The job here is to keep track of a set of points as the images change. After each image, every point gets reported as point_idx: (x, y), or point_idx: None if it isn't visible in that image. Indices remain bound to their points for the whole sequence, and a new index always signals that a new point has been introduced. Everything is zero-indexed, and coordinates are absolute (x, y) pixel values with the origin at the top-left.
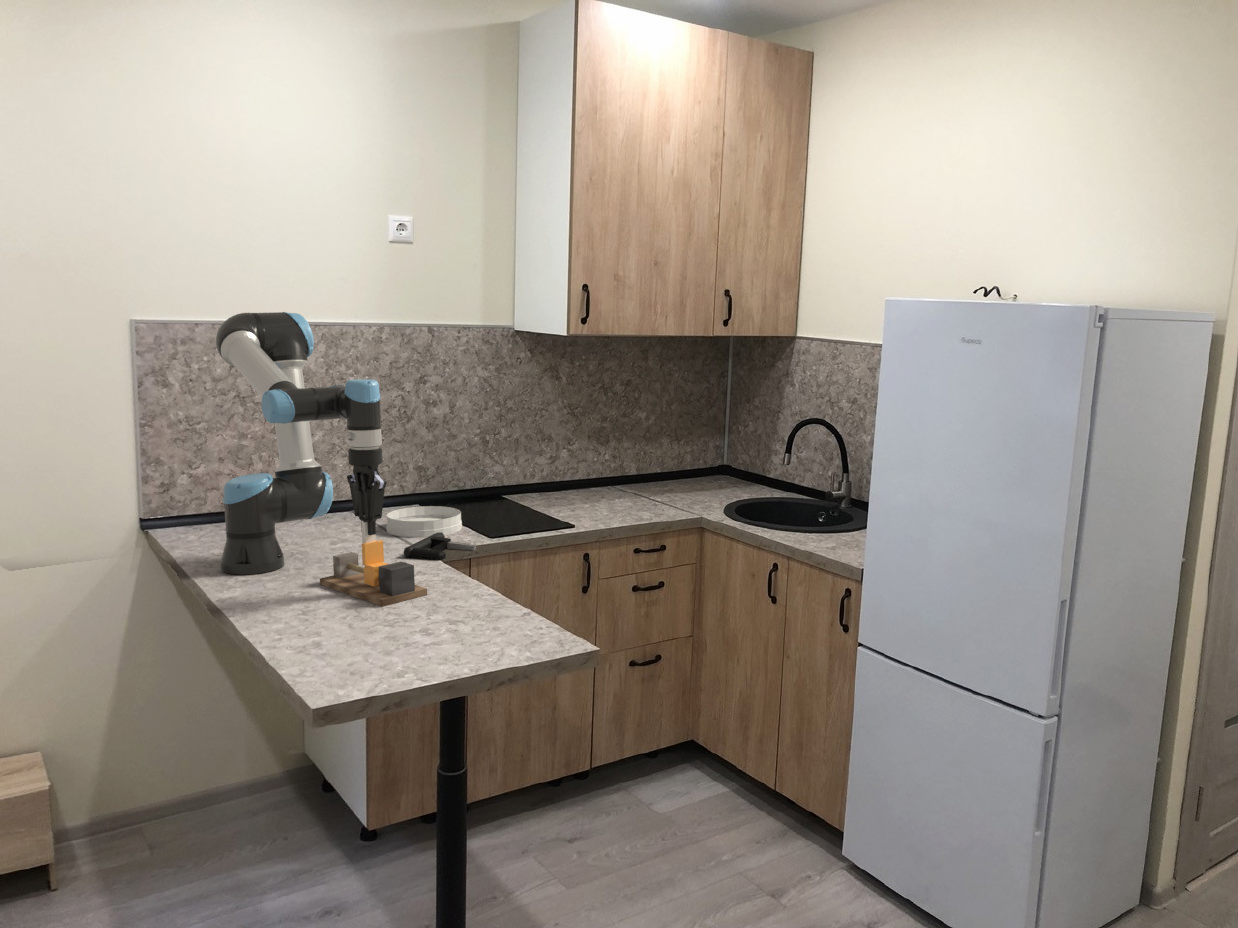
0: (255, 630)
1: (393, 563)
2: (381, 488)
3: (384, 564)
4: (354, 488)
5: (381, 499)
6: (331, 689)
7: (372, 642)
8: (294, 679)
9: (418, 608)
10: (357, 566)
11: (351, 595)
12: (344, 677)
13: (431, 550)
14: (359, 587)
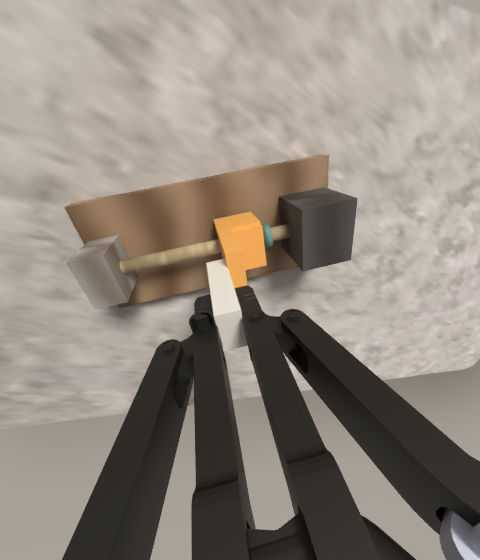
0: None
1: (305, 234)
2: (464, 478)
3: (258, 237)
4: (148, 547)
5: (379, 390)
6: (461, 356)
7: (417, 308)
8: (422, 372)
9: (372, 211)
10: (164, 263)
11: None
12: (454, 345)
13: None
14: None
